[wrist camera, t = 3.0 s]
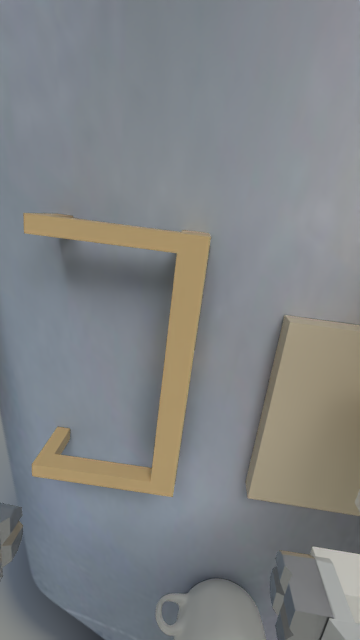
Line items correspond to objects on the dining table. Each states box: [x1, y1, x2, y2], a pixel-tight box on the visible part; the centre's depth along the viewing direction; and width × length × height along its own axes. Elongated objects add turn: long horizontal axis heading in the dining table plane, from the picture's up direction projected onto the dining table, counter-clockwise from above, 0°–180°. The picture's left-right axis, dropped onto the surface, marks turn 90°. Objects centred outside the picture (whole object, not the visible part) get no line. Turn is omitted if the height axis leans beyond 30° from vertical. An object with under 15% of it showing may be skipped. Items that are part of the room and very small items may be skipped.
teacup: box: [156, 578, 266, 640], centre depth 27 cm, size 10×8×5 cm
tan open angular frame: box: [24, 213, 211, 497], centre depth 21 cm, size 10×17×4 cm, turn 173°
